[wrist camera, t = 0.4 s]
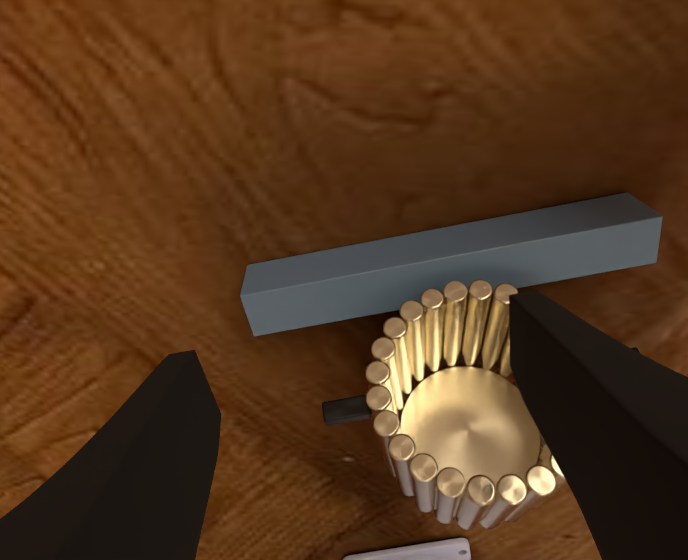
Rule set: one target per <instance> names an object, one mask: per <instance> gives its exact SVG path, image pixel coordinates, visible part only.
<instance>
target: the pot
mask: <svg viewBox="0 0 688 560" xmlns="http://www.w3.org/2000/svg"><path fill="white" fill-rule="evenodd" d="M492 294H493V296H492ZM512 294H518V290H517V288H516V287H515V286H513V285H512V284H509V283H502V284H499V285H498V286H496V287H495V289H494V291H493V288H492V286H491V284H490V283H489V282H488V281H486V280H482V279H478V280H475V281H473V282H471V283H470V285H469V287H468V289H467V287H466V285H465V284H464V283H462V282H460V281H451V282H449V283H447V284H446V285H445V286H444V289H443V293H442V292H441V291H440V290H438V289H435V288H429V289H426V290H425V291H423V292H422V294H421V296H420V303H419V302H418V301H415V300H408V301H406V302H404V303H403V304H402V305H401V307H400V310H399V312H400V318H399V317H391V318H389V319H387V320H386V321H385V323H384V324H383V334H384V337H380V338H378V339H376V340H375V341H374V342H373V343H372V345H371V353H372V357H373V362H371V363H369V364H368V365H367V367H366V369H365V377H366V380H367V383H368V387H369V390H368V391H367V393H366V395H362V396H356V397H350V398H345V399H339V400H333V401H328V402H323V403H322V408H323V417H324V421H325V423H326V425H328V426H329V425H335V424H341V423H346V422H352V421H358V420H364V419H370V418H372V421H373V427H374V430H375V433H376V436H377V439H378V442H379V445H380V447H381V450H382V453H383V456H384V459H385V462H386V465H387V468H388V471H389V472H390V474H391V475H392V476H394V477H396V479H397V482H398V485H399V489H400V491H401V492H402V493H403V494H404V495H406V496H413V495H414V500H415V504H416V507H417V508H418V509H419V510H420V511H423V512H429V511H431V510H433V509H434V514H435V517H436V518H437V520H438V521H440V522H441V523H444V524H448V523H451V522H452V521H453V520H454V519H455V516H456V520H457V523H458V524H459V525H460V526H461V527H462V528H464V529H468V530H469V529H473V528H474V527H475V526H476V525H477V523H478V522H480V523H481V525H482V526H483V527H485V528H487V529H494V528H496V527H498V526H499V525H500V524H501V523H502V522H503V521H504V520H505V521H507V522H510V523H513V522H516V521H518V520H519V519H520V518H522V517H523V516H524V515H525V514H526V513H528V512H529V511H530V510H533V509H535V508H536V507H538V506H539V505H540V504H541V503H543V502H544V501H545V500H546V499H548V498H549V497H550V496H552V495H553V494H554V493H555V492H557V491H558V490H559V489H560V488H562V487H563V486H564V485H566V484H567V481H566V479H565V477H564V475H563V474H562V472H561V470H560V468H559V466H558V465H557V463H556V461H555V459H554V457H553V455H552V454H551V452H550V450H549V448H548V446H547V444H546V443H545V441H544V439H543V437H542V435H541V433H540V432H539V430H538V428H537V426H536V424H535V422H534V420H533V419H532V417H531V415H530V413H529V411H528V409H527V407H526V405H525V403H524V401H523V398H522V396H521V393H520V391H519V388H518V385H517V383H516V380H515V377H514V375H513V372H512V369H511V367H510V333H509V331H508V330H509V295H512ZM491 299H492V301H491ZM490 304H491V305H490ZM489 308H490V310H489ZM488 313H489V315H488ZM487 318H488V320H487ZM486 323H487V324H486ZM485 327H486V329H485ZM484 332H485V334H484ZM483 337H484V338H483ZM506 337H507V338H506ZM505 340H506V341H505ZM482 342H483V343H482ZM481 346H482V348H481ZM503 347H504V348H503ZM631 349H632V350H634V351H636V352H638V353H639V351H638V349H637V348H631ZM502 350H503V351H502ZM480 351H481V353H480ZM479 356H480V357H479ZM500 357H501V358H500ZM499 360H500V361H499ZM478 361H479V362H478ZM459 363H460V365H461V366H458V365H459ZM477 365H478V366H479V367H476V366H477ZM441 367H442V368H443V369H442V370H441ZM496 369H497V371H496ZM495 371H496V373H495ZM425 374H426V375H428V377H426V378H425ZM513 380H514V381H513ZM511 381H513V383H511ZM412 386H416V387H415V388H414V389H413V387H412ZM403 400H406V402H405V404H404V402H403ZM400 415H401V416H400ZM399 416H400V419H399ZM541 447H542V448H543V450H542V452H541V453H540V451H541ZM537 464H538V465H537Z"/></svg>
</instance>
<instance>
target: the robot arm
mask: <svg viewBox="0 0 688 560" xmlns="http://www.w3.org/2000/svg"><path fill="white" fill-rule="evenodd" d="M509 333H510V367H511V369H512V372H513V375H514V377H515V380H516V383H517V385H518V388H519V391H520V393H521V396H522V398H523V401H524V403H525V405H526V407H527V409H528V411H529V413H530V415H531V417H532V419H533V420H534V422H535V424H536V426H537V428H538V430H539V432H540V433H541V435H542V437H543V439H544V441H545V443H546V444H547V446H548V448H549V450H550V452H551V454H552V455H553V457H554V459H555V461H556V463H557V465H558V466H559V468H560V470H561V472H562V474H563V475H564V477H565V479H566V481H567V483H568V485H569V486H570V488H571V490H572V492H573V494H574V496H575V498H576V500H577V502H578V504H579V506H580V508H581V510H582V513H583V515H584V517H585V520H586V522H587V525H588V527H589V529H590V532H591V534H592V536H593V539H594V541H595V543H596V546H597V548H598V551H599V553H600V555H601V558H602V560H688V377H686V376H684V375H682V374H679V373H677V372H675V371H673V370H671V369H669V368H667V367H665V366H663V365H661V364H659V363H657V362H655V361H653V360H651V359H649V358H647V357H646V356H644V355H642V354H640V353H638V352H636V351H634V350H632V349H631V348H629V347H627V346H625V345H624V344H622V343H620V342H618V341H617V340H615V339H613V338H611V337H610V336H608V335H606V334H605V333H603V332H601V331H600V330H598V329H596V328H595V327H593V326H592V325H590V324H588V323H587V322H585V321H584V320H582V319H580V318H579V317H577V316H576V315H574V314H573V313H571V312H570V311H568V310H566V309H565V308H563V307H562V306H560V305H559V304H557V303H556V302H554V301H553V300H551V299H550V298H548V297H547V296H545V295H543V294H542V293H540V292H538V291H537V290H535V291H529V292H524V293H518V294H512V295H509ZM220 423H221V413H220V410H219V408H218V405H217V403H216V400H215V398H214V396H213V393H212V391H211V388H210V386H209V384H208V381H207V379H206V376H205V374H204V372H203V369H202V367H201V364H200V362H199V359H198V357H197V355H196V352H195V350H191V351H186V352H180V353H174V354H169V355H168V356H167V357H166V358H165V359H164V360H163V361H162V362H161V363H160V364H159V365H158V366H157V367H156V368H155V370H154V371H153V372H152V373H151V374H150V375H149V376H148V377H147V378H146V380H145V381H144V382H143V383H142V384H141V385H140V386H139V387H138V389H137V390H136V391H135V392H134V393H133V394H132V395H131V396H130V398H129V399H128V400H127V401H126V402H125V403H124V404H123V405H122V406H121V407H120V409H119V410H118V411H117V412H116V413H115V414H114V415H113V416H112V417H111V418H110V420H109V421H108V422H107V423H106V424H105V425H104V426H103V427H102V428H101V429H100V430H99V431H98V432H97V433H96V434H95V435H94V436H93V437H92V438H91V439H90V440H89V441H88V442H87V443H86V444H85V445H84V446H83V447H82V448H81V449H80V450H79V451H78V452H77V453H76V454H75V455H74V456H73V457H72V458H71V459H70V460H69V461H68V462H67V463H66V464H65V465H64V466H63V467H62V468H60V469H59V470H58V471H57V472H56V473H55V474H54V475H53V476H52V477H51V478H49V479H48V480H47V481H46V482H45V483H44V484H43V485H41V486H40V487H39V488H38V489H37V490H36V491H35V492H33V493H32V494H31V495H30V496H29V497H27V498H26V499H25V500H24V501H23V502H21V503H20V504H19V505H18V506H16V507H15V508H14V509H13V510H11V511H10V512H9V513H7V514H6V515H5V516H4V517H2V518H1V519H0V560H195V558H196V552H197V547H198V543H199V538H200V534H201V529H202V525H203V520H204V516H205V512H206V507H207V503H208V498H209V494H210V489H211V485H212V480H213V475H214V471H215V466H216V461H217V456H218V448H219V437H220ZM343 560H471V555H470V546H469V542H468V540H467V539H466V538H455V539H449V540H443V541H436V542H430V543H424V544H417V545H411V546H405V547H399V548H392V549H386V550H380V551H374V552H367V553H361V554H355V555H349V556H346V557H344V559H343Z"/></svg>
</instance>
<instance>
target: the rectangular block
mask: <svg viewBox="0 0 688 560" xmlns="http://www.w3.org/2000/svg"><path fill="white" fill-rule="evenodd" d="M662 219H663V217H662V216H661V215H660V214H658V213H657V212H655V211H654V210H653V209H651V208H650V207H648V206H647V205H645V204H644V203H642V202H641V201H640V200H638V199H637V198H635V197H634V196H632V195H631V194H630V193H628V192H627V193H621V194H616V195H611V196H606V197H600V198H595V199H590V200H585V201H579V202H574V203H569V204H564V205H559V206H553V207H548V208H543V209H538V210H532V211H527V212H522V213H517V214H511V215H506V216H501V217H496V218H491V219H485V220H480V221H475V222H470V223H464V224H459V225H454V226H449V227H443V228H438V229H433V230H428V231H423V232H417V233H412V234H407V235H402V236H396V237H391V238H386V239H381V240H375V241H370V242H365V243H360V244H355V245H349V246H344V247H339V248H334V249H328V250H323V251H318V252H313V253H308V254H302V255H297V256H292V257H287V258H281V259H276V260H271V261H266V262H260V263H255V264H250V265H247V268H246V272H245V276H244V281H243V285H242V289H241V294H240V298H241V301H242V304H243V307H244V310H245V313H246V315H247V318H248V321H249V324H250V327H251V330H252V333H253V335H254V336H260V335H265V334H271V333H276V332H282V331H287V330H293V329H298V328H303V327H309V326H314V325H320V324H325V323H331V322H336V321H342V320H347V319H352V318H358V317H363V316H369V315H374V314H380V313H385V312H391V311H396V310H400V307H401V305H402V304H403V303H404V302H406V301H408V300H415V301H418V302H419V303H420V296H421V294H422V292H423V291H425V290H426V289H429V288H435V289H438V290H440V291H441V292H442V293H443V289H444V286H445V285H446V284H447V283H449V282H451V281H460V282H462V283H464V284H465V285H466V287H467V289H468V287H469V285H470V283H471V282H473V281H475V280H478V279H482V280H486V281H488V282H489V283H490V284H491V286H492V288H493V291H494V289H495V287H496V286H498V285H499V284H502V283H509V284H512V285H513V286H515V287H516V288H521V287H527V286H532V285H538V284H543V283H548V282H554V281H559V280H565V279H570V278H576V277H581V276H587V275H592V274H597V273H603V272H608V271H614V270H619V269H625V268H630V267H636V266H641V265H646V264H652V263H656V261H657V254H658V247H659V240H660V233H661V226H662Z"/></svg>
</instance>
